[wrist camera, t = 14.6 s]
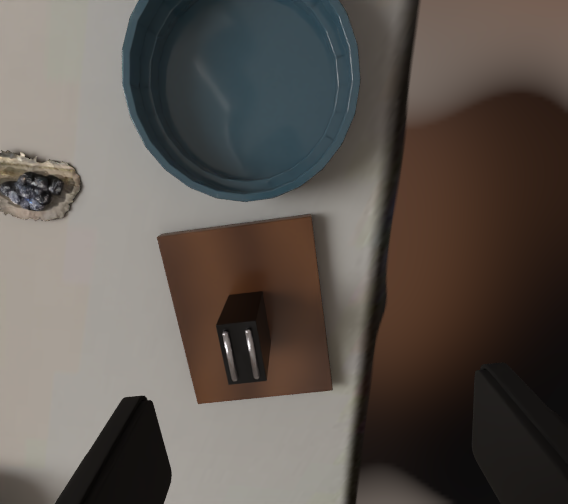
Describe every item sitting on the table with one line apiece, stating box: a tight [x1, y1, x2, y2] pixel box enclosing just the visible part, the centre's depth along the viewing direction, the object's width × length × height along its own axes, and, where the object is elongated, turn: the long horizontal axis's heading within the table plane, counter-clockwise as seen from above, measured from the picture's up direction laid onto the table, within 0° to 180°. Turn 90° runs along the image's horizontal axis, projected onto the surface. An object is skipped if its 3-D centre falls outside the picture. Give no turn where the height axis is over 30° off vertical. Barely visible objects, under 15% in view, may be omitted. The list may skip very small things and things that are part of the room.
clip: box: [216, 291, 271, 385], centre depth 32 cm, size 3×6×6 cm, turn 8°
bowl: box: [122, 0, 360, 202], centre depth 29 cm, size 17×17×4 cm
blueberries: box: [0, 150, 81, 221], centre depth 32 cm, size 7×8×2 cm
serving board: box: [157, 214, 333, 404], centre depth 36 cm, size 14×18×1 cm
